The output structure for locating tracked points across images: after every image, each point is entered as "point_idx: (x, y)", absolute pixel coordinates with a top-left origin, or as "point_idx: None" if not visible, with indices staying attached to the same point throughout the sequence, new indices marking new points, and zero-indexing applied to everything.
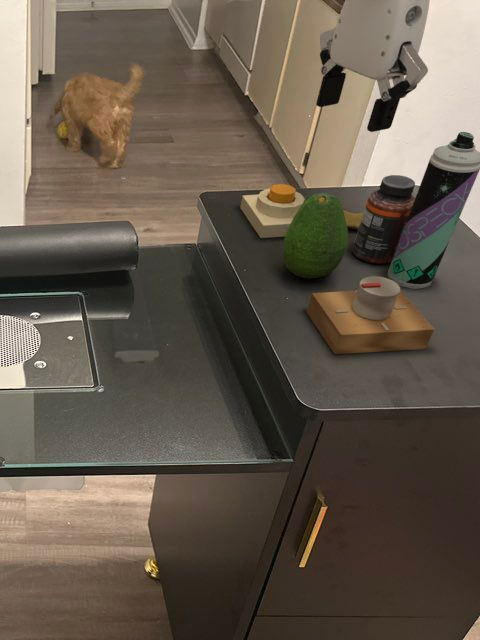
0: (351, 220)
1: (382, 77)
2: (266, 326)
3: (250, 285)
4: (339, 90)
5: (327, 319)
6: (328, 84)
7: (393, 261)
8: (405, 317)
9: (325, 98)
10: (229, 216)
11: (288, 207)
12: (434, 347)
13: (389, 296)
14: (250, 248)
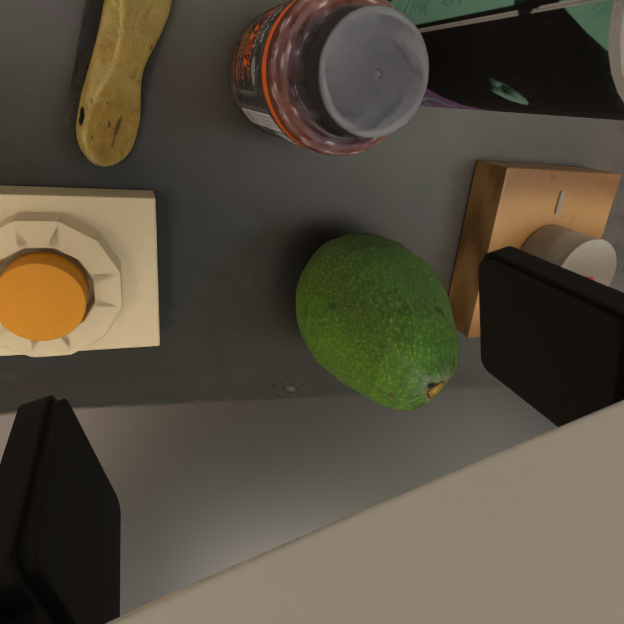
0: (131, 69)
1: None
2: (455, 388)
3: (343, 388)
4: (62, 473)
5: None
6: (106, 615)
7: None
8: (581, 208)
9: (109, 522)
10: (17, 376)
11: (120, 290)
12: (586, 149)
13: (614, 272)
14: (203, 360)
